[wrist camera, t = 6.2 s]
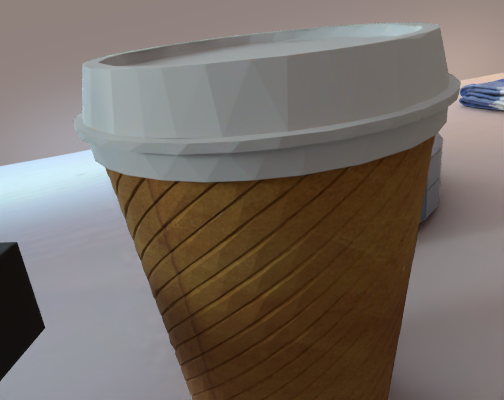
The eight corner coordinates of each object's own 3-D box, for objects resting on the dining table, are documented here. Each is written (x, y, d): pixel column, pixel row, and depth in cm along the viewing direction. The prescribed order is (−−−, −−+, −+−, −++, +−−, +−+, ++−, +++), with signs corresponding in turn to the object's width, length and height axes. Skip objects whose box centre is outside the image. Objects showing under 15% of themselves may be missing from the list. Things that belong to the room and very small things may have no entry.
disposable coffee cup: (321, 293, 22) (305, 24, 18) (507, 435, 14) (566, 13, 10) (123, 376, 18) (39, 61, 14) (227, 636, 10) (109, 91, 6)
